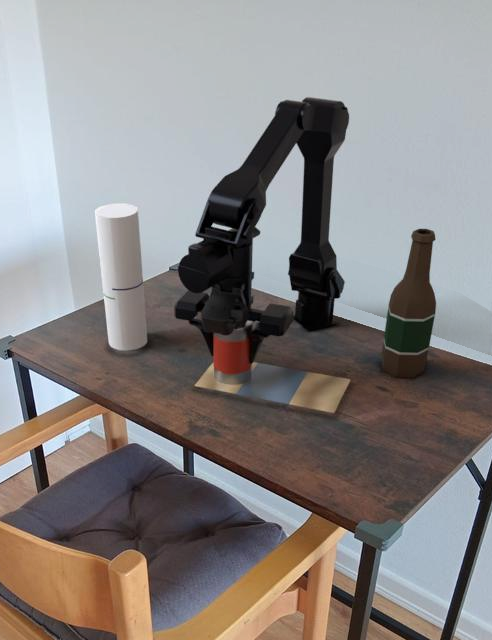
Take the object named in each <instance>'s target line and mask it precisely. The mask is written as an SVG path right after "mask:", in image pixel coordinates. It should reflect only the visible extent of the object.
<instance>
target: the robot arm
mask: <svg viewBox="0 0 492 640" xmlns="http://www.w3.org/2000/svg"><path fill="white" fill-rule="evenodd" d="M349 123H350V113H349V110H348V107H347V106H346V105H345V103H344V102H343V101H342V100H335V99H334V100H333V99H327V98H318V97H311V96H306V97H305V98H303V99H302V101H298V100H292V99H285V100H282V101H279V103H278V104H277V106H276V108H275V112H274V116H273V118H272V119H271V120H270V122H269V124H268V125H267V126H266V128H265V130H264V131H263V133H262V134H261V135H260V137H259V139H258V140H257V142H256V143H255V144H254V146H253V148H252V149H251V151H250V152H249V154H248V155H247V157H246V158H245V160H244V161H243V163H242V164H241V165H240V167H239V168H237V169H236V170H233V171H232V172H230V173H228V174H226V175H225V176H223V177H222V179H221V180H220V181H219V182H218V183H217V184H216V185H215V186H214V187H213V189H212V190H211V192H210V194H209V196H208V197H207V200H206V203H205V206H204V209H203V211H202V214H201V217H200V220H199V223H198V225H197V228H196V230H195V234H194V235H195V238H200V239H203V240H201V241H199V242H195V243H192V244H190V245H188V247H187V251H188V252H187V253H188V254H185V255H184V256H183V257H182V258H181V259H180V260H179V263H178V266H177V273H178V277H179V280H180V283H181V284H182V285H183V286H184V288H185V289H186V290H187V291H186V292H185V293H183V294H182V295H181V297H180V298H178V300H176V301H175V303H174V307H173V315H174V318H175V319H176V320H181V321H187V322H188V324H189V325H191V326H193V327H195V328H197V329H198V330H199V331H200V333H201V334H202V336H203V339H204V341H205V343H206V346H207V348H208V351H209V353H210V355H211V357H212V358H213V333H219V334H222V335H225V336H226V335H230V334H231V333H232V332H233V330H234V329H237V327H240V328H244V327H245V325H246V322H247V320H248V321H253V323H254V325H255V326H254V328H253V329H252V332H251V333H250V336H251V338H252V339H251V348H250V364H252V363H253V362H255V359H256V357H257V356H258V353H259V350H260V348H261V346H262V343H263V342H264V339H267V338H269V337H270V336H273V337H278V338H279V337H283V336H285V334H286V333H287V331H288V330H289V329H290V327H291V325H292V324H293V322H294V321H295V322H296V323H298V324H299V325H300V326H301V327H302V328H304V329H305V330H306V331H308V332H311V331H316V330H319V329H320V330H321V329H324V328H328V327H334V326H336V325H338V321H337V320H336V319H334V309H335V300H337V299H340V298H341V294H342V293H343V291H344V287H345V283H346V281H345V280H344V278H343V276H342V275H341V273H340V272H339V270H338V267H337V266H338V265H337V260H338V259H337V254H336V252H335V250H334V248H333V246H332V244H331V243H330V227H331V226H330V223H331V209H332V194H333V193H332V191H333V178H334V177H333V176H334V161H335V156H336V154H337V153H338V151H339V150H340V148H341V146H342V145H343V144H344V142H345V140H346V136H347V129H348V128H349V127H348V126H349ZM295 146H297V148H298V150H299V152H300V153H301V155H302V157H303V174H302V175H303V177H302V202H301V203H302V205H301V223H300V224H301V225H300V226H301V228H300V243H299V245H297V247H296V249H295V250H294V252H292V253H290V254H289V257H288V272H287V275H288V277H289V282H290V283H289V284H290V288H291V291H293V292H298V293H297V295H298V296H297V299H296V300H295V309H294V311H295V312H294V311H293V309H292V307H291V306H290V305H283V304H276V303H269V304H268V305H267V306H266V307H265V309H256V308H252V304H253V303H254V296H253V295H252V291H253V290H252V287H253V286H252V284H253V280H254V279H255V271H253V250H254V248H253V247H254V239H255V238H256V237H259V236H260V235H261V230H260V229H259V228H258V227H256V226H257V224H258V223H259V221H260V219H261V218H262V214H263V212H264V210H265V209H266V206H267V194H266V193H267V190H268V188H269V186H270V184H272V181H273V180H274V178H275V177H276V175H277V173H278V172H279V171H280V169H281V168H282V166H283V164H284V163H285V161H286V160H287V158H288V157H289V155H290V153H291V152H292V150H293V149H294V148H295ZM213 224H214V225H217V226H221V227H225V228H229V229H228V230H227V229H224V228H220V227H215V226H213ZM209 289H211V291H210V295H209V294H208V292H206V291H207V290H209Z"/></svg>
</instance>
